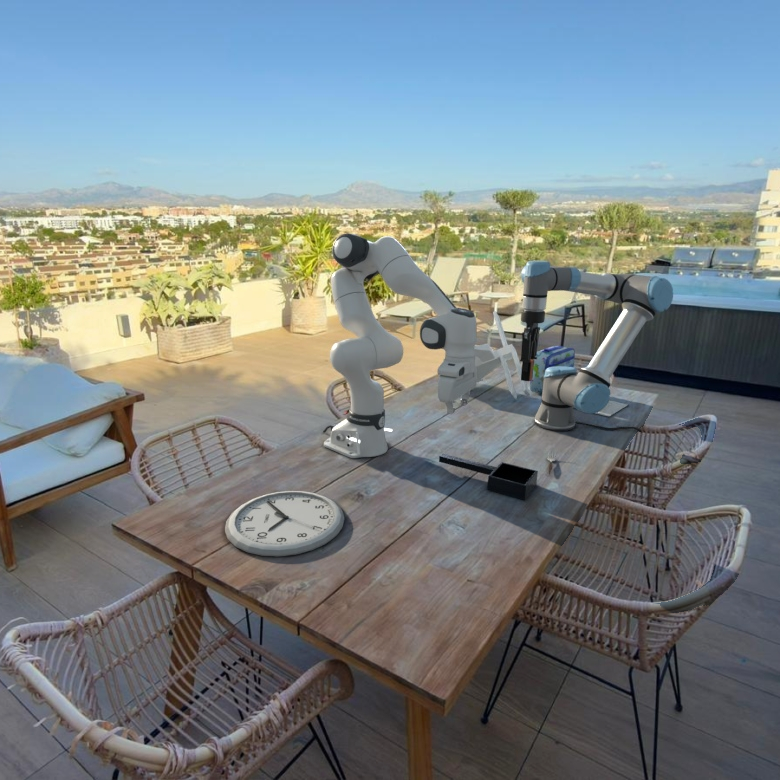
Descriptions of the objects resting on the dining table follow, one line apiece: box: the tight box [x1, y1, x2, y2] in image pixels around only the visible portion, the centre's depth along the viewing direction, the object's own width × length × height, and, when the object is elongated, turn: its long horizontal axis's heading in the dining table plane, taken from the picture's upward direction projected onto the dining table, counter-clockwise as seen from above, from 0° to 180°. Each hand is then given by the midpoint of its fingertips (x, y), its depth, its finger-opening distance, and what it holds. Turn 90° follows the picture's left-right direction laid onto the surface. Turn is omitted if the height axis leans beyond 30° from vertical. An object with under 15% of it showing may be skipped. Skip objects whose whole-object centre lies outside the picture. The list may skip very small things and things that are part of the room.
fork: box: [547, 449, 557, 475], centre depth 169 cm, size 3×16×2 cm, turn 160°
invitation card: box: [595, 400, 629, 418], centre depth 226 cm, size 21×1×15 cm
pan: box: [438, 453, 539, 501], centre depth 158 cm, size 29×11×5 cm, turn 58°
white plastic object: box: [474, 310, 531, 400], centre depth 245 cm, size 37×45×31 cm
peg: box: [528, 359, 534, 382], centre depth 176 cm, size 3×3×7 cm
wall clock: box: [224, 490, 345, 557], centre depth 134 cm, size 30×2×30 cm
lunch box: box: [529, 345, 576, 394], centre depth 244 cm, size 26×11×21 cm, turn 135°
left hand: (457, 409), depth 158 cm, fingers open, 8 cm apart
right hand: (526, 379), depth 177 cm, fingers closed on peg, 3 cm apart
